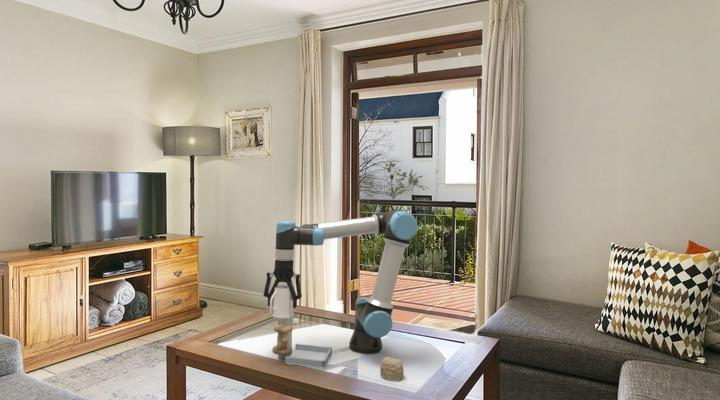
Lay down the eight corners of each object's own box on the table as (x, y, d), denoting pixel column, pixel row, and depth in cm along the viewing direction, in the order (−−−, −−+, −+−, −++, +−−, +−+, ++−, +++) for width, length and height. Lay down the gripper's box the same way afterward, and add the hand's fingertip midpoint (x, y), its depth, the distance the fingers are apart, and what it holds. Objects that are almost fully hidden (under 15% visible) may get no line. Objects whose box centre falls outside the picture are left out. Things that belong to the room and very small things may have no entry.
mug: (275, 321, 176) (277, 290, 175) (261, 316, 181) (262, 287, 181) (297, 315, 185) (298, 286, 185) (283, 311, 190) (284, 283, 190)
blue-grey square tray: (331, 354, 193) (332, 347, 193) (324, 369, 176) (324, 361, 176) (295, 350, 195) (296, 343, 195) (284, 364, 178) (285, 357, 178)
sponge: (385, 381, 179) (372, 360, 178) (405, 368, 179) (393, 347, 179) (388, 391, 169) (375, 369, 169) (410, 377, 170) (397, 355, 170)
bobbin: (293, 349, 197) (294, 325, 197) (288, 355, 189) (289, 330, 189) (275, 347, 198) (277, 323, 198) (269, 353, 190) (271, 328, 190)
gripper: (311, 259, 185) (308, 314, 185) (262, 256, 187) (260, 310, 188) (307, 262, 178) (304, 319, 178) (256, 258, 180) (253, 315, 180)
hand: (281, 314), depth 183 cm, fingers closed on mug, 8 cm apart
